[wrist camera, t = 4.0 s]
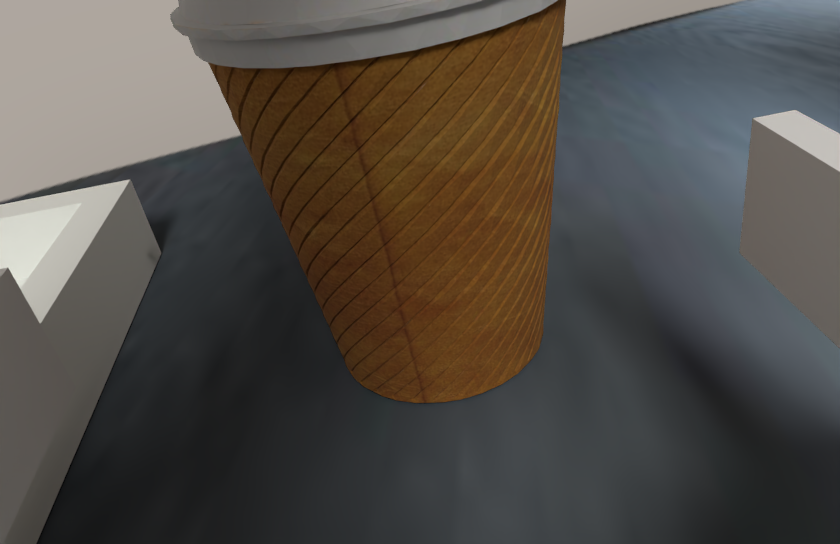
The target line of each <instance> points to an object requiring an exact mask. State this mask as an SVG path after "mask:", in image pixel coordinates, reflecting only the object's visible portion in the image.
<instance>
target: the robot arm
mask: <svg viewBox="0 0 840 544" xmlns="http://www.w3.org/2000/svg"><path fill="white" fill-rule="evenodd" d="M739 253H740V254H741V255H742V256H743V257H744V258H745V259H746V260H748V261H749V262H750V263H751V264H752V265H753V266H754V267H755V268H756V269H757V270H758V271H759V272H760V273H761V274H762V275H763V276H764V277H765V278H766V279H767V280H768V281H769V282H771V283H772V284H773V285H774V286H775V287H776V288H777V289H778V290H779V291H780V292H781V293H782V294H783V295H784V296H785V297H786V298H787V299H788V300H789V301H790V302H791V303H793V304H794V305H795V306H796V307H797V308H798V309H799V310H800V311H801V312H802V313H803V314H804V315H805V316H806V317H807V318H808V319H809V320H810V321H811V322H812V323H813V324H814V325H816V326H817V327H818V328H819V329H820V330H821V331H822V332H823V333H824V334H825V335H826V336H827V337H828V338H829V339H830V340H831V341H832V342H833V343H834V344H835V345H836V346H838V347H839V348H840V134H839V133H837V132H835V131H833V130H832V129H830V128H828V127H826V126H824V125H822V124H820V123H819V122H817V121H815V120H813V119H811V118H809V117H807V116H806V115H804V114H802V113H800V112H798V111H796V110H792V111H787V112H782V113H777V114H772V115H767V116H762V117H757V118H753V119H752V130H751V140H750V150H749V160H748V170H747V181H746V191H745V201H744V211H743V222H742V232H741V242H740V252H739ZM75 389H76V387H75V385H74V383H73V381H72V379H71V378H70V376H69V374H68V372H67V371H66V369H65V367H64V365H63V364H62V362H61V360H60V358H59V356H58V355H57V353H56V351H55V349H54V348H53V346H52V344H51V342H50V341H49V339H48V337H47V335H46V333H45V332H44V330H43V328H42V326H41V325H40V323H39V321H38V319H37V318H36V316H35V314H34V312H33V311H32V309H31V307H30V305H29V303H28V302H27V300H26V298H25V296H24V295H23V293H22V291H21V289H20V288H19V286H18V284H17V282H16V280H15V279H14V277H13V275H12V273H11V272H10V270H9V268H8V267H7V268H2V269H0V544H3V542H4V540H5V538H6V536H7V534H8V532H9V530H10V528H11V525H12V523H13V521H14V519H15V517H16V515H17V513H18V510H19V508H20V506H21V504H22V502H23V500H24V498H25V495H26V493H27V491H28V489H29V487H30V485H31V483H32V481H33V478H34V476H35V474H36V472H37V470H38V468H39V466H40V463H41V461H42V459H43V457H44V455H45V453H46V451H47V449H48V446H49V444H50V442H51V440H52V438H53V436H54V434H55V431H56V429H57V427H58V425H59V423H60V421H61V419H62V417H63V414H64V412H65V410H66V408H67V406H68V404H69V402H70V399H71V397H72V395H73V393H74V391H75Z"/></svg>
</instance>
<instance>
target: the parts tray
mask: <svg viewBox="0 0 840 544" xmlns="http://www.w3.org/2000/svg"><path fill="white" fill-rule="evenodd" d="M160 255H161V251H160V249H159V246H158V244H157V242H156V239H155V237H154V234H153V232H152V230H151V227H150V225H149V223H148V220H147V218H146V215H145V213H144V211H143V208H142V206H141V204H140V201H139V199H138V196H137V194H136V192H135V189H134V187H133V184H132V182H131V180H125V181H120V182H115V183H110V184H105V185H100V186H95V187H89V188H84V189H79V190H74V191H69V192H64V193H59V194H54V195H48V196H43V197H38V198H33V199H28V200H23V201H18V202H12V203H7V204H2V205H0V269H2V268H7V267H8V268H9V270H10V272H11V273H12V275H13V277H14V279H15V280H16V282H17V284H18V286H19V288H20V289H21V291H22V293H23V295H24V296H25V298H26V300H27V302H28V303H29V305H30V307H31V309H32V311H33V312H34V314H35V316H36V318H37V319H38V321H39V323H40V325H41V326H42V328H43V330H44V332H45V333H46V335H47V337H48V339H49V341H50V342H51V344H52V346H53V348H54V349H55V351H56V353H57V355H58V356H59V358H60V360H61V362H62V364H63V365H64V367H65V369H66V371H67V372H68V374H69V376H70V378H71V379H72V381H73V383H74V385H75V387H76V389H75V391H74V393H73V395H72V397H71V399H70V402H69V404H68V406H67V408H66V410H65V412H64V414H63V417H62V419H61V421H60V423H59V425H58V427H57V429H56V431H55V434H54V436H53V438H52V440H51V442H50V444H49V446H48V449H47V451H46V453H45V455H44V457H43V459H42V461H41V463H40V466H39V468H38V470H37V472H36V474H35V476H34V478H33V481H32V483H31V485H30V487H29V489H28V491H27V493H26V495H25V498H24V500H23V502H22V504H21V506H20V508H19V510H18V513H17V515H16V517H15V519H14V521H13V523H12V525H11V528H10V530H9V532H8V534H7V536H6V538H5V540H4V542H3V544H36V543H37V541H38V539H39V536H40V534H41V532H42V529H43V527H44V525H45V522H46V520H47V518H48V515H49V513H50V511H51V509H52V506H53V504H54V502H55V499H56V497H57V495H58V492H59V490H60V488H61V485H62V483H63V481H64V478H65V476H66V474H67V471H68V469H69V467H70V464H71V462H72V460H73V457H74V455H75V453H76V450H77V448H78V446H79V443H80V441H81V439H82V437H83V434H84V432H85V430H86V427H87V425H88V423H89V420H90V418H91V416H92V413H93V411H94V409H95V406H96V404H97V402H98V399H99V397H100V395H101V392H102V390H103V388H104V385H105V383H106V381H107V378H108V376H109V374H110V371H111V369H112V367H113V365H114V362H115V360H116V358H117V355H118V353H119V351H120V348H121V346H122V344H123V341H124V339H125V337H126V334H127V332H128V330H129V327H130V325H131V323H132V320H133V318H134V316H135V313H136V311H137V309H138V306H139V304H140V302H141V299H142V297H143V295H144V293H145V290H146V288H147V286H148V283H149V281H150V279H151V276H152V274H153V272H154V269H155V267H156V265H157V262H158V260H159V258H160Z"/></svg>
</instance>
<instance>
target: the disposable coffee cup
mask: <svg viewBox="0 0 840 544" xmlns="http://www.w3.org/2000/svg"><path fill="white" fill-rule="evenodd" d="M178 1H179V7H178V8H176V9H175V10H174V11H173V12H172V14H171V21H172V23H173V26H174V28H175V29H176V30H178V31H179V32H180V33H181V34H182V35H185V36H188V37H189V40H190V42H191V44H192V47H193V50H194V52H195V54H196V55H197V56H198V57H199V58H201V59H202V60H203V61H206V62H208V63H209V65H210V67H211V69H212V71H213V74H214V76H215V78H216V80H217V82H218V84H219V86H220V88H221V91H222V94H223V96H224V98H225V100H226V102H227V104H228V106H229V108H230V110H231V112H232V117H233V119H234V121H235V123H236V125H237V127H238V129H239V131H240V133H241V135H242V137H243V141H244V143H245V145H246V147H247V149H248V151H249V153H250V155H251V157H252V159H253V162H254V165H255V167H256V169H257V171H258V173H259V175H260V177H261V179H262V180H263V184H264V187H265V189H266V191H267V193H268V195H269V196H270V198H271V200H272V202H273V207H274V209H275V210H276V212H277V214H278V216H279V218H280V220H281V222H282V226H283V228H284V230H285V232H286V234H287V236H288V238H289V239H290V242H291V245H292V247H293V249H294V251H295V253H296V255H297V257H298V259H299V262H300V266H301V267H302V269H303V271H304V273H305V275H306V277H307V279H308V282H309V284H310V286H311V288H312V290H313V292H314V294H315V296H316V300H317V302H318V304H319V306H320V308H321V310H322V312H323V315H324V317H325V319H326V321H327V323H328V325H329V327H330V329H331V332H332V334H333V337H334V339H335V341H336V343H337V344H338V347H339V350H340V352H341V354H342V356H343V358H344V360H345V363H346V366H347V368H348V370H349V371H350V373H351V374H352V376H353V377H354V378H355V379H356V380H357V381H358V382H359V383H360V384H361V385H362V386H364V387H365V388H367V389H369V390H371V391H373V392H375V393H377V394H379V395H381V396H384V397H387V398H390V399H394V400H398V401H405V402H413V403H435V402H448V401H454V400H461V399H464V398H468V397H471V396H474V395H478V394H481V393H484V392H486V391H488V390H490V389H492V388H495V387H497V386H499V385H501V384H503V383H504V382H506V381H507V380H509V379H510V378H512V377H513V376H515V375H516V374H518V373H519V372H520V371H521V370H522V369H523V368H524V367H525V366H526V365H527V364H528V363H529V362H530V361H531V360H532V358H533V357H534V355H535V354H536V352H537V351H538V349H539V346H540V343H541V339H542V336H543V320H544V304H545V289H546V280H547V264H548V248H549V237H550V225H551V207H552V193H553V180H554V162H555V148H556V135H557V120H558V112H559V91H560V72H561V63H562V44H563V35H564V16H565V6H566V0H178Z"/></svg>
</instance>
